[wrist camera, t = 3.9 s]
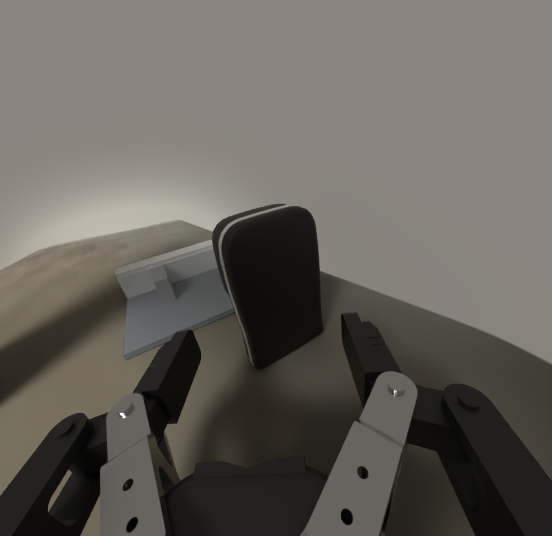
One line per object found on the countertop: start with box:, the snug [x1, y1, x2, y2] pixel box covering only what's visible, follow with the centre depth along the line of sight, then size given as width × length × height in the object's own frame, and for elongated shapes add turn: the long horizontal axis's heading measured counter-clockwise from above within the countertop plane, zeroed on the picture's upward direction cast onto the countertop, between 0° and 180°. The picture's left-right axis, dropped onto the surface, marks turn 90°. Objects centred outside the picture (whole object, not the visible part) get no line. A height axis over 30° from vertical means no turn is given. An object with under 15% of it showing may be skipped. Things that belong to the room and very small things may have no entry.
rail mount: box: [115, 240, 235, 360], centre depth 29 cm, size 16×14×4 cm
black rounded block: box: [212, 204, 323, 369], centre depth 18 cm, size 7×4×11 cm, turn 122°
